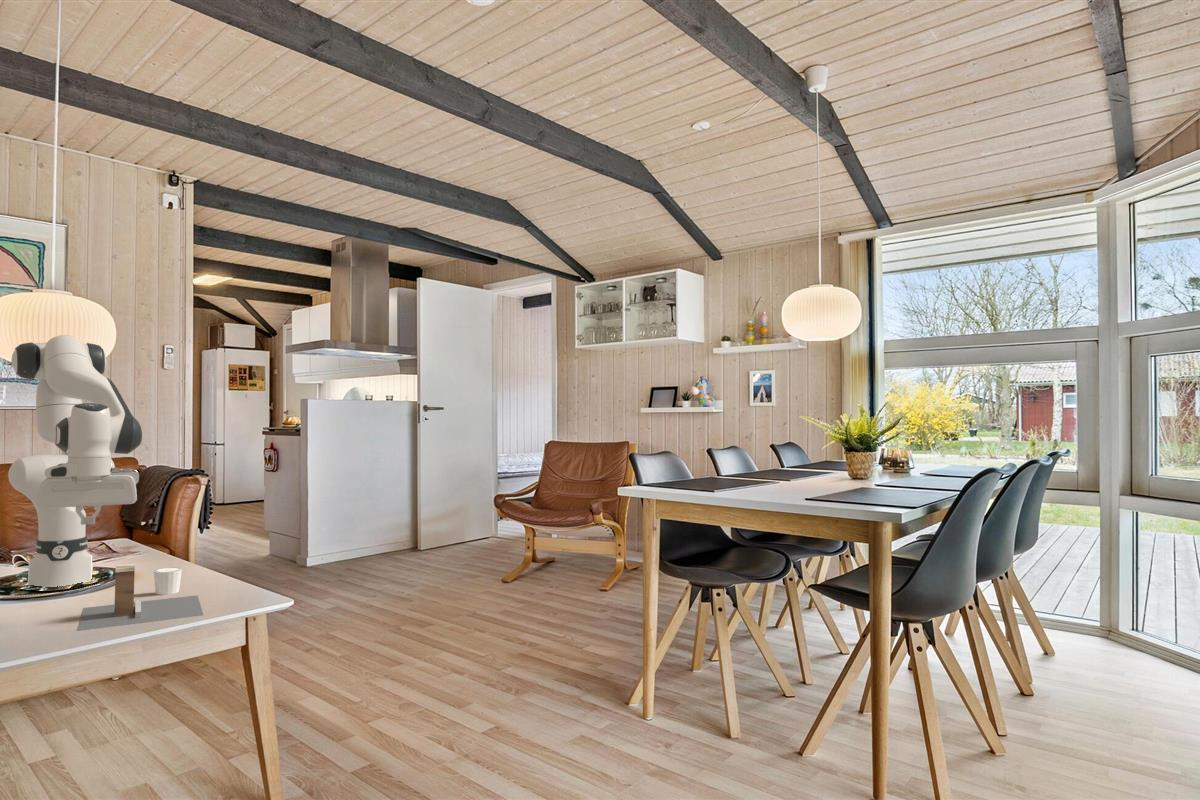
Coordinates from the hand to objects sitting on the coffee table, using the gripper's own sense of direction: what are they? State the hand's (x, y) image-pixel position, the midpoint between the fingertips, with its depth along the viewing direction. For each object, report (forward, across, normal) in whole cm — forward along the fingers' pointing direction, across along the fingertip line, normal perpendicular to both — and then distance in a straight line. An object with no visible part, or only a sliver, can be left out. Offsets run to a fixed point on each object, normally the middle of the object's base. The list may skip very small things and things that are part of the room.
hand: (88, 524), depth 177 cm
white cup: (+24, -18, -19) cm, 36 cm away
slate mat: (+24, -12, 0) cm, 27 cm away
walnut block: (+23, -8, 0) cm, 25 cm away
